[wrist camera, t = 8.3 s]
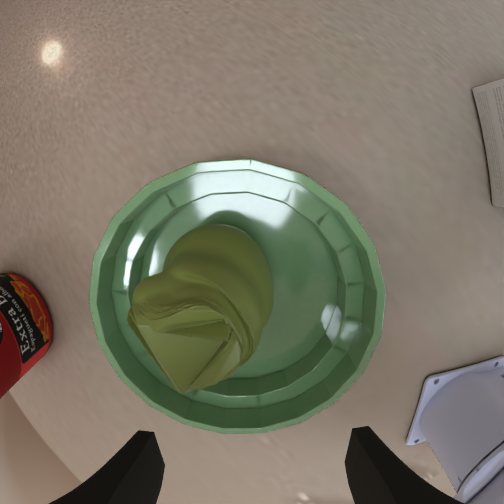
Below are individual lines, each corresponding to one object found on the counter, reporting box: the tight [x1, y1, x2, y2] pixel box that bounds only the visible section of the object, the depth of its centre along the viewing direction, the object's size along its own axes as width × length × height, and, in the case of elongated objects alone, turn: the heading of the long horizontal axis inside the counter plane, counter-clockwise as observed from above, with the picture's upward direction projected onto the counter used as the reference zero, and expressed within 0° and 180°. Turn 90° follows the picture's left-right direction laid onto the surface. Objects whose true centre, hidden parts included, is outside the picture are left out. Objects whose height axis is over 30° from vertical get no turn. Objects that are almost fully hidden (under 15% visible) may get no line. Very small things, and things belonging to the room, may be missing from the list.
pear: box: [127, 224, 274, 394], centre depth 13 cm, size 6×5×10 cm
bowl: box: [89, 159, 386, 434], centre depth 17 cm, size 15×15×4 cm
